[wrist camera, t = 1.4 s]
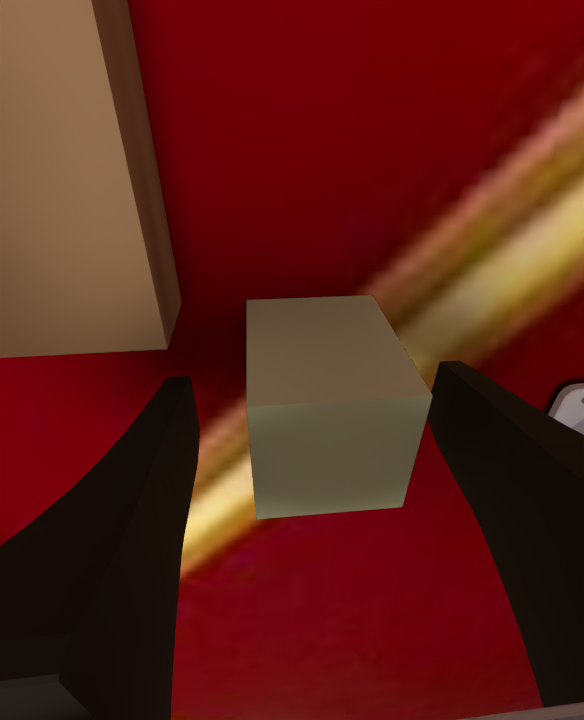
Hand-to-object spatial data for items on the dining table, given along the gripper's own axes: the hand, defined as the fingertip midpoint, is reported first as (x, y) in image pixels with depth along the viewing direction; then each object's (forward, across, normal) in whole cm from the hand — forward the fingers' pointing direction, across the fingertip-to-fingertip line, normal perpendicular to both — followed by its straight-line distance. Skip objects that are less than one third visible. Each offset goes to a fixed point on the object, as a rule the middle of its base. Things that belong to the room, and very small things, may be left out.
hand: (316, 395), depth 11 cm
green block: (+2, 0, 0) cm, 3 cm away
